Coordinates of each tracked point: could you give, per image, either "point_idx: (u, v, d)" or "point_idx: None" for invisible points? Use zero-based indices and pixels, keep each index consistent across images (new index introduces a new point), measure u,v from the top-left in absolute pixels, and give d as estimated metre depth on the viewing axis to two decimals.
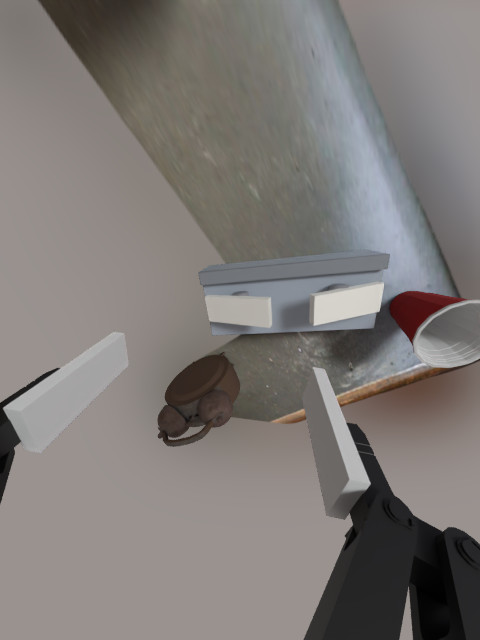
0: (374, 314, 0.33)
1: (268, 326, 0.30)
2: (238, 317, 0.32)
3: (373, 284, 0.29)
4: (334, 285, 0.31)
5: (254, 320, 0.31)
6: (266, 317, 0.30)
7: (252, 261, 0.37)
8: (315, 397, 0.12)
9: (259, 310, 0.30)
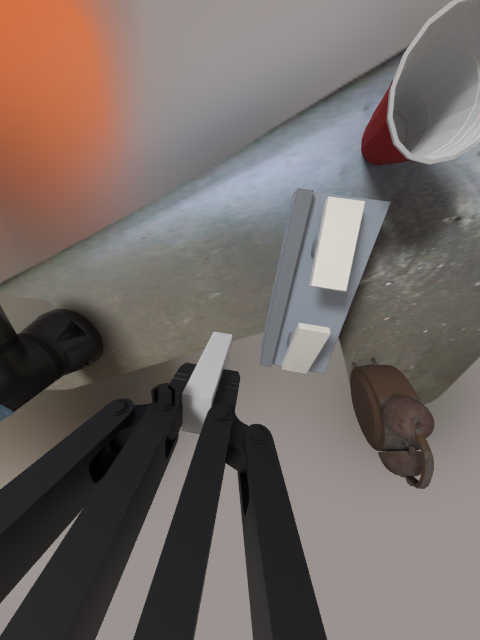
0: (369, 201, 0.26)
1: (328, 334, 0.28)
2: (309, 353, 0.32)
3: (325, 210, 0.25)
4: (312, 251, 0.28)
5: (317, 343, 0.30)
6: (317, 333, 0.29)
7: (268, 310, 0.40)
8: None
9: (308, 337, 0.29)
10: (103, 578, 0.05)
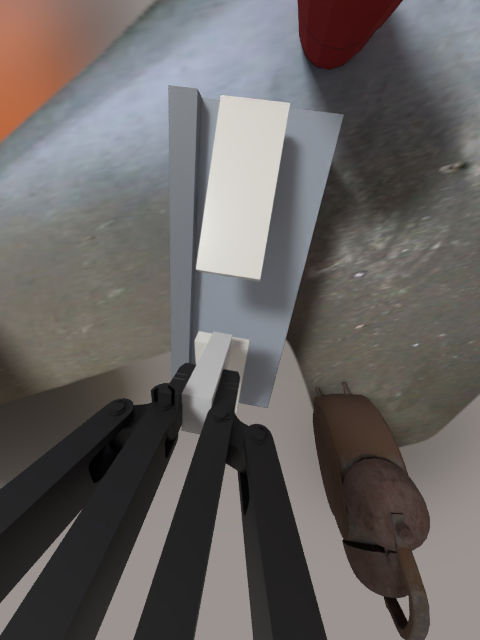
0: (306, 114, 0.14)
1: (244, 351, 0.16)
2: None
3: None
4: None
5: (233, 366, 0.18)
6: None
7: None
8: None
9: None
10: (103, 578, 0.05)
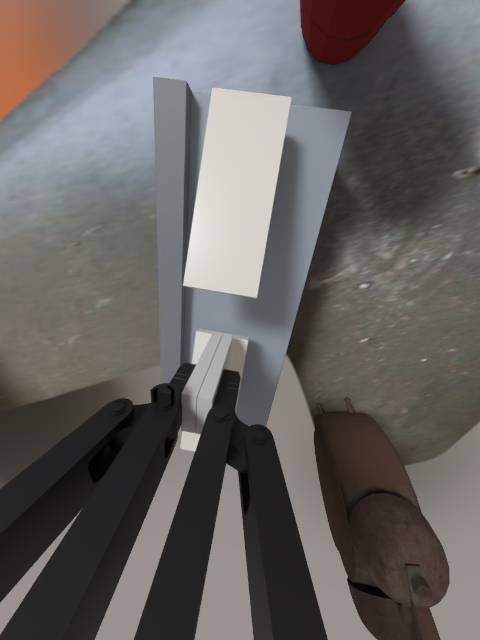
0: (309, 111, 0.13)
1: (245, 341, 0.17)
2: None
3: None
4: None
5: (232, 365, 0.17)
6: None
7: None
8: None
9: None
10: (103, 578, 0.05)
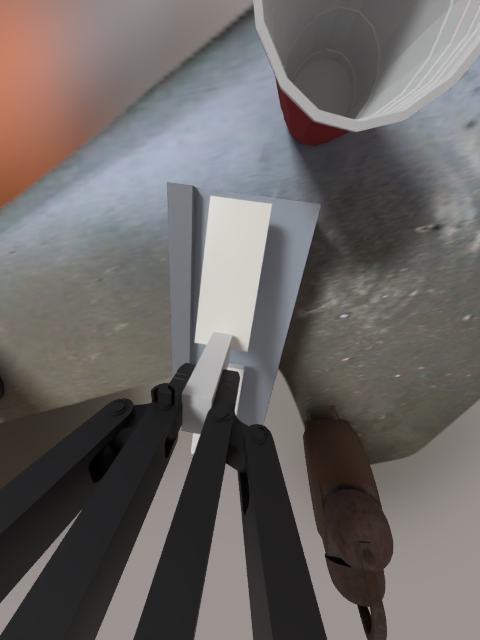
0: (288, 203, 0.16)
1: (241, 371, 0.21)
2: None
3: None
4: None
5: None
6: None
7: None
8: None
9: None
10: (103, 578, 0.05)
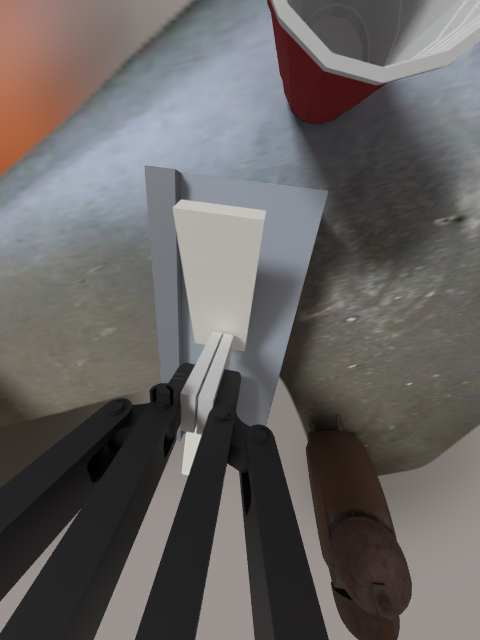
0: (289, 190, 0.14)
1: None
2: None
3: None
4: None
5: None
6: None
7: None
8: None
9: None
10: (102, 577, 0.05)
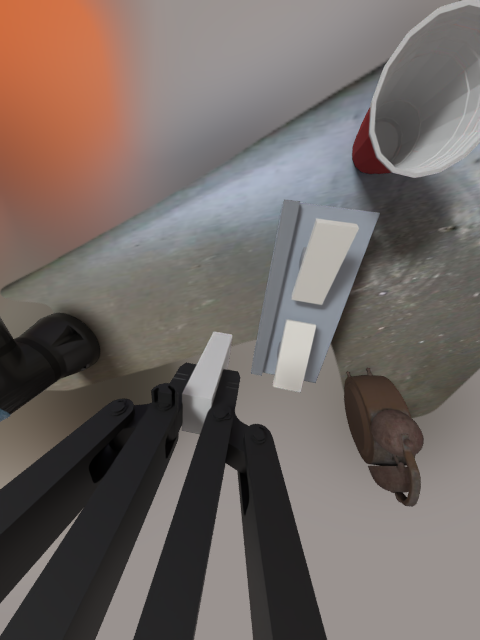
0: (358, 212, 0.26)
1: (314, 326, 0.30)
2: (300, 355, 0.31)
3: (312, 235, 0.23)
4: (301, 258, 0.28)
5: (306, 339, 0.31)
6: (304, 326, 0.31)
7: None
8: None
9: (296, 331, 0.31)
10: (103, 578, 0.05)
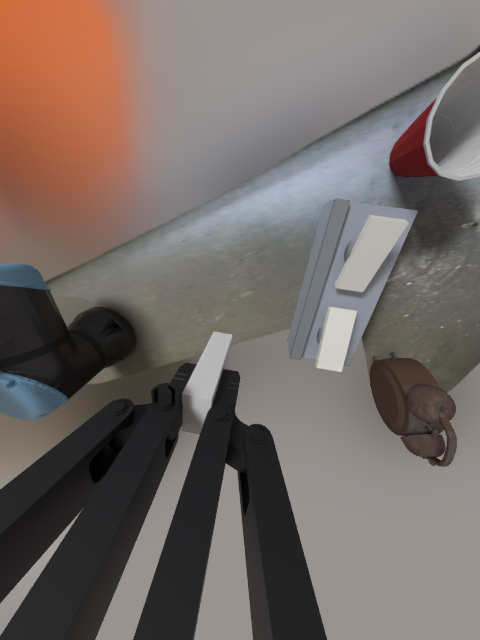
0: (399, 210, 0.29)
1: (355, 311, 0.34)
2: (342, 338, 0.35)
3: (365, 229, 0.27)
4: (346, 250, 0.32)
5: (347, 323, 0.34)
6: (346, 312, 0.34)
7: (296, 308, 0.43)
8: None
9: (339, 316, 0.34)
10: (104, 578, 0.05)
